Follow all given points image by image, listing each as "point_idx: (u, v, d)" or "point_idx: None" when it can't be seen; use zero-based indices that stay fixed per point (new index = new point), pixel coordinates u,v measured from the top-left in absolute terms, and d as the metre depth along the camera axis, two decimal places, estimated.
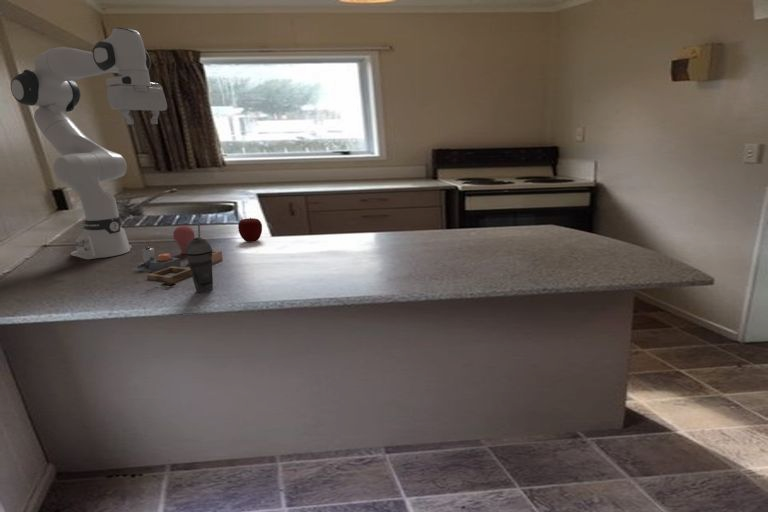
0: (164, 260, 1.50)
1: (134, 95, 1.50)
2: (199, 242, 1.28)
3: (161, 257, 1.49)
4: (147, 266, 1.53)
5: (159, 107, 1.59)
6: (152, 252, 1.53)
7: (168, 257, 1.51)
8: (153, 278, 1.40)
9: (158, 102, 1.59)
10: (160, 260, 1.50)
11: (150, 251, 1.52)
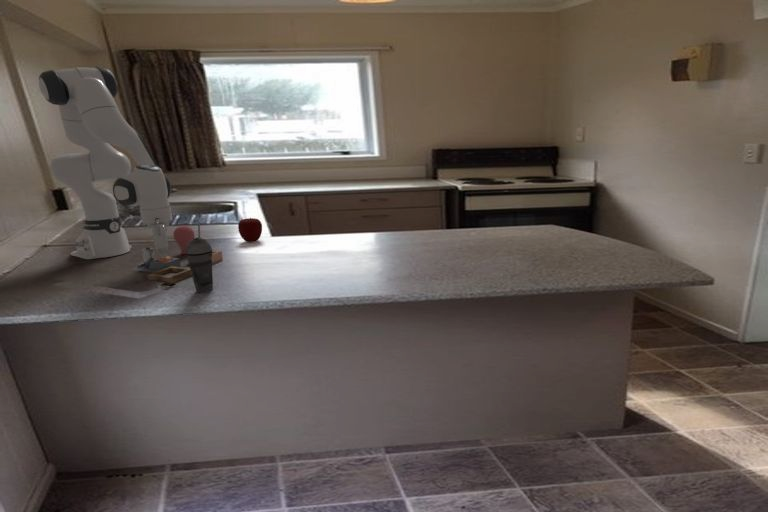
0: None
1: None
2: (199, 242, 1.28)
3: (161, 260, 1.50)
4: (147, 266, 1.53)
5: None
6: (152, 252, 1.53)
7: (168, 260, 1.51)
8: (153, 278, 1.40)
9: None
10: None
11: (150, 251, 1.52)
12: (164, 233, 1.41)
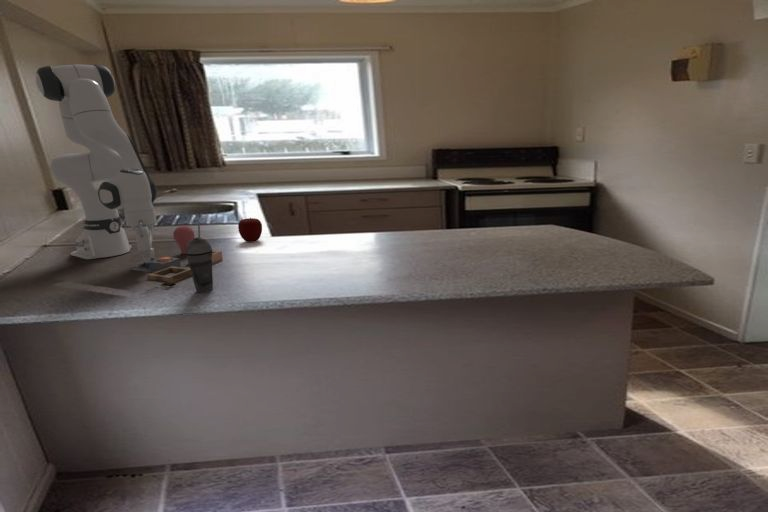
0: None
1: None
2: (199, 242, 1.28)
3: (162, 260, 1.50)
4: (147, 266, 1.53)
5: None
6: (152, 252, 1.53)
7: (169, 260, 1.51)
8: (153, 278, 1.40)
9: None
10: None
11: (150, 251, 1.52)
12: (147, 235, 1.43)
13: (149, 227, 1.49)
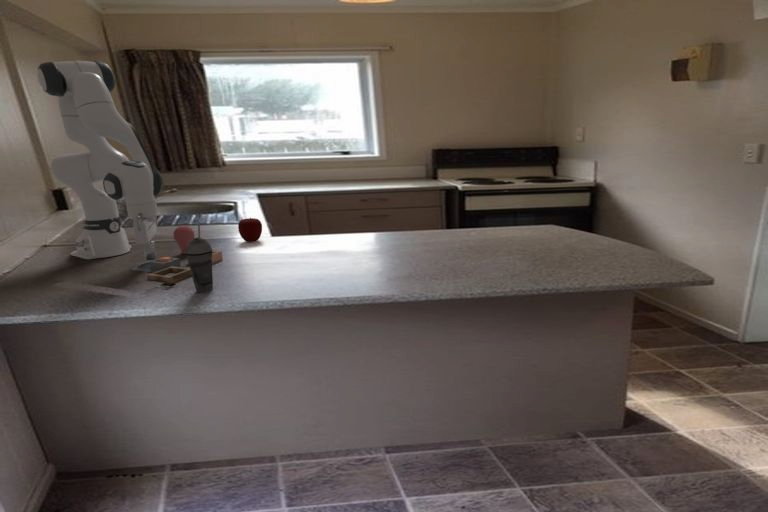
0: None
1: None
2: (199, 242, 1.28)
3: (162, 260, 1.50)
4: (147, 258, 1.54)
5: None
6: (152, 245, 1.53)
7: (169, 260, 1.51)
8: (153, 278, 1.40)
9: None
10: None
11: (150, 244, 1.53)
12: (144, 229, 1.44)
13: (150, 220, 1.50)
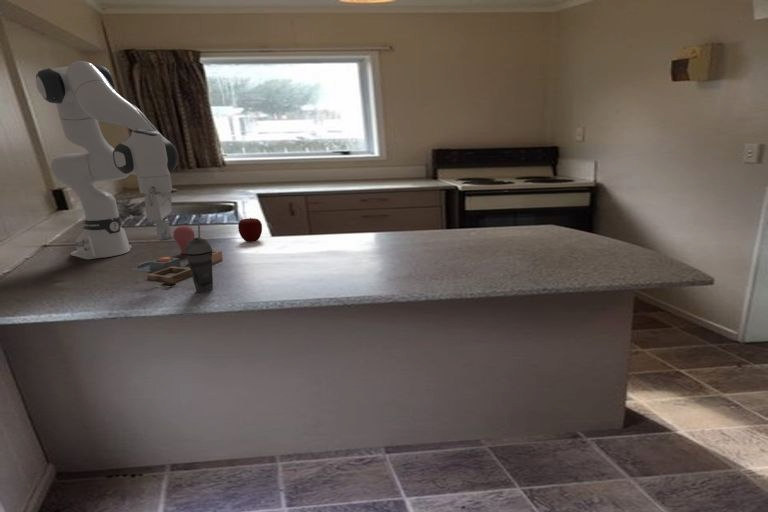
0: None
1: None
2: (199, 242, 1.28)
3: (162, 260, 1.50)
4: (160, 239, 1.38)
5: None
6: (166, 223, 1.38)
7: (169, 260, 1.51)
8: (153, 278, 1.40)
9: None
10: None
11: (163, 222, 1.37)
12: (157, 203, 1.28)
13: (163, 195, 1.35)
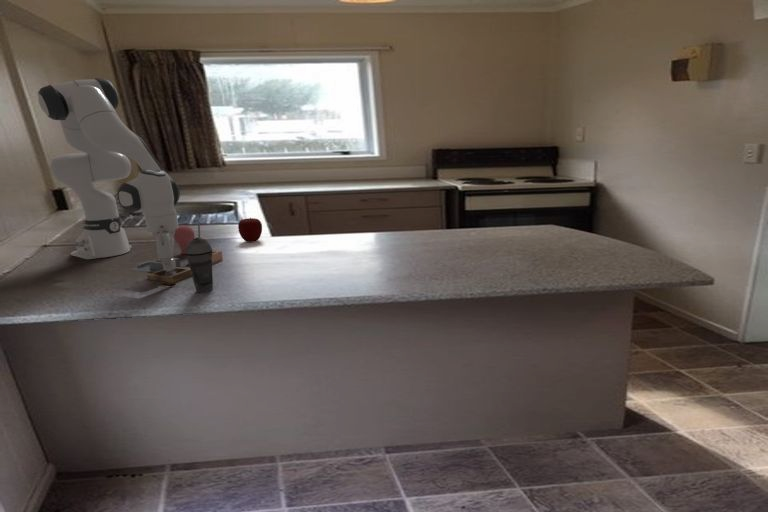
0: None
1: None
2: (199, 242, 1.28)
3: None
4: None
5: None
6: (173, 263, 1.42)
7: None
8: (153, 278, 1.40)
9: None
10: None
11: (171, 262, 1.41)
12: (168, 242, 1.32)
13: (171, 233, 1.38)
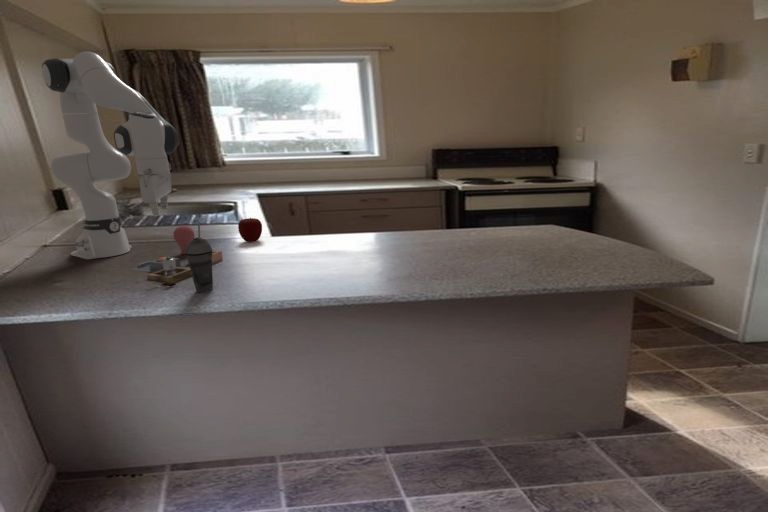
0: None
1: None
2: (199, 242, 1.28)
3: None
4: None
5: None
6: (173, 263, 1.42)
7: None
8: (153, 278, 1.40)
9: None
10: None
11: (171, 261, 1.41)
12: (151, 185, 1.32)
13: (159, 177, 1.39)
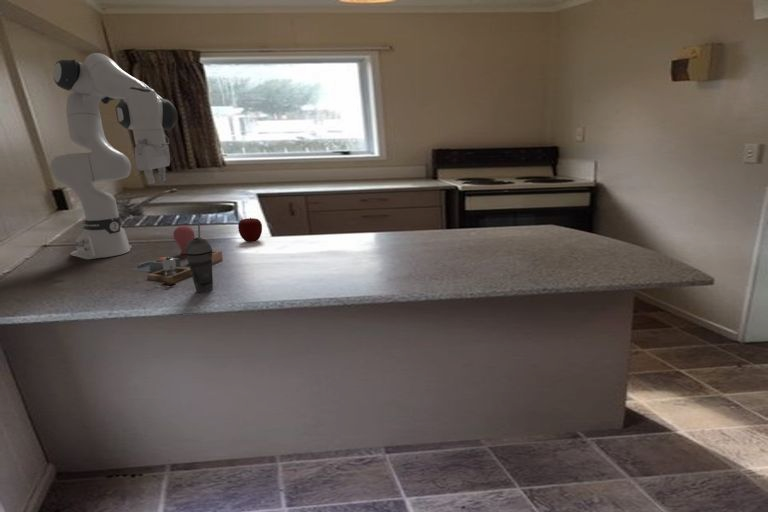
0: None
1: None
2: (199, 242, 1.28)
3: None
4: None
5: None
6: (173, 263, 1.42)
7: None
8: (153, 278, 1.40)
9: None
10: None
11: (170, 261, 1.41)
12: (145, 153, 1.40)
13: (155, 148, 1.47)
